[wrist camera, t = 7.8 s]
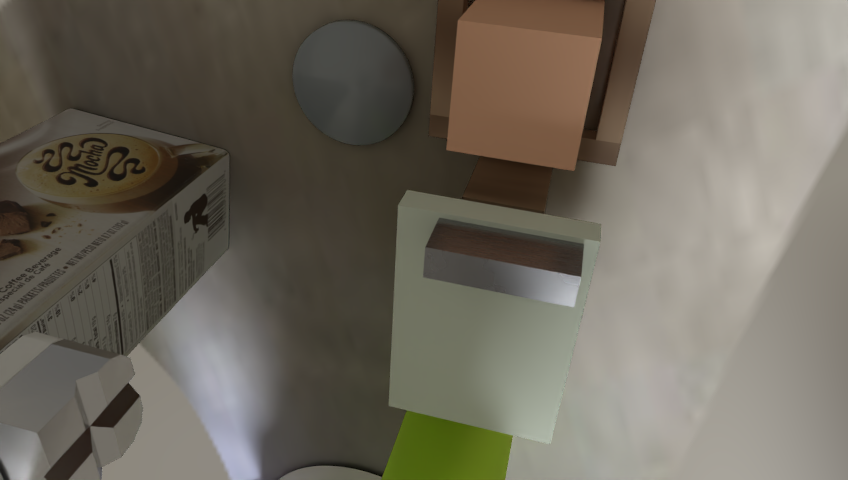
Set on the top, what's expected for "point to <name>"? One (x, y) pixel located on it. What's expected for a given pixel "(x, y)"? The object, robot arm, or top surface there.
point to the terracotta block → (524, 79)
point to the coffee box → (104, 228)
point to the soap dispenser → (446, 451)
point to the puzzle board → (531, 182)
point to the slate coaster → (353, 82)
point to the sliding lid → (487, 312)
